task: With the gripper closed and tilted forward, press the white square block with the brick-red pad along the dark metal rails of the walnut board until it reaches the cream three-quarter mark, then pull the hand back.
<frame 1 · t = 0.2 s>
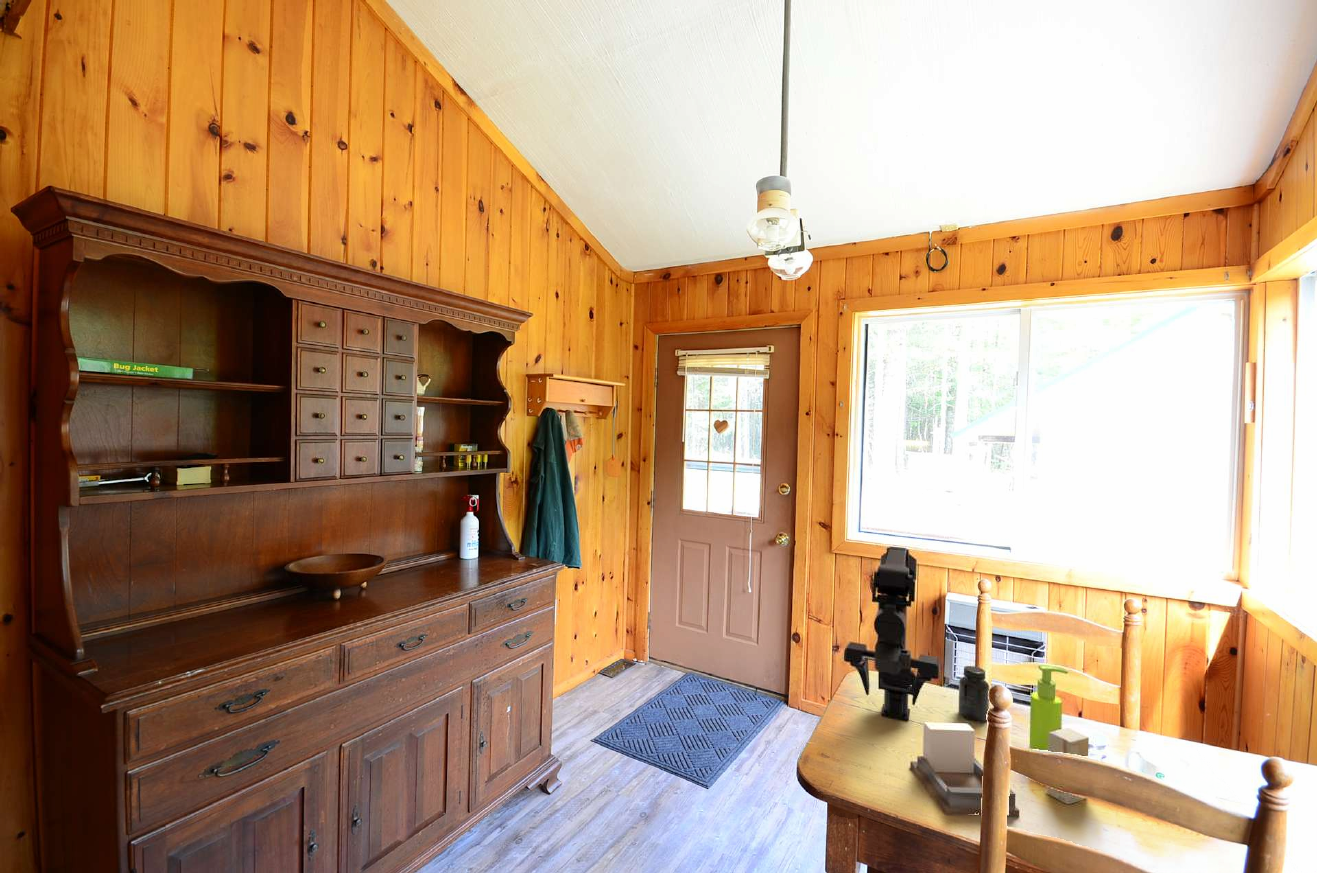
hand: (890, 699, 127), 14 cm above the table, tool pointing down, fingers open, 9 cm apart
skincare box: (1066, 797, 117), on the table
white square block: (947, 746, 124), point 6 cm above the table, slide at 0.0 cm
soap dispenser: (1047, 757, 132), on the table
supplement bottle: (973, 717, 151), on the table
press base: (961, 790, 118), on the table
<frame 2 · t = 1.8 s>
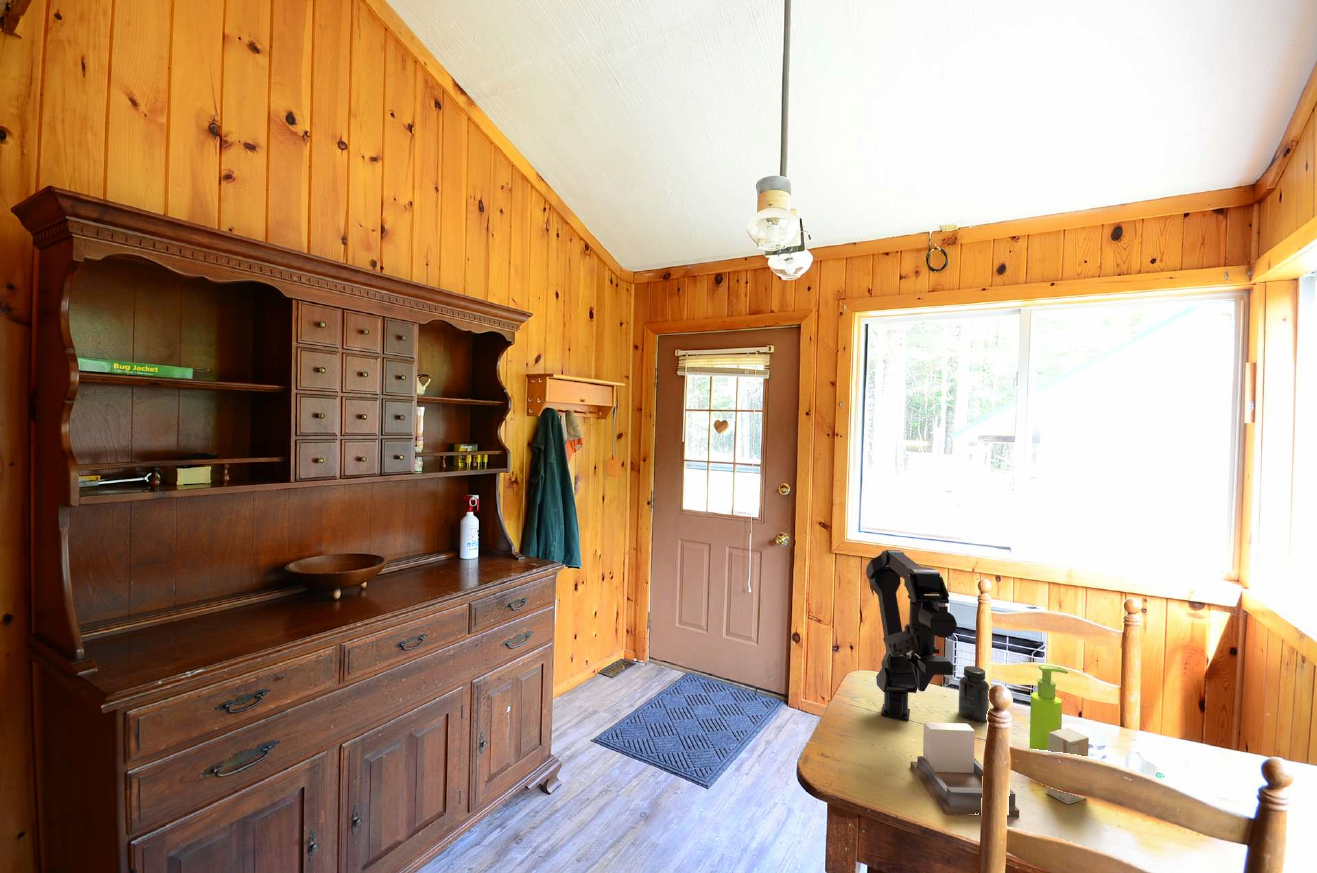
hand: (921, 690, 137), 12 cm above the table, tool pointing down, fingers closed
nothing on the table moved.
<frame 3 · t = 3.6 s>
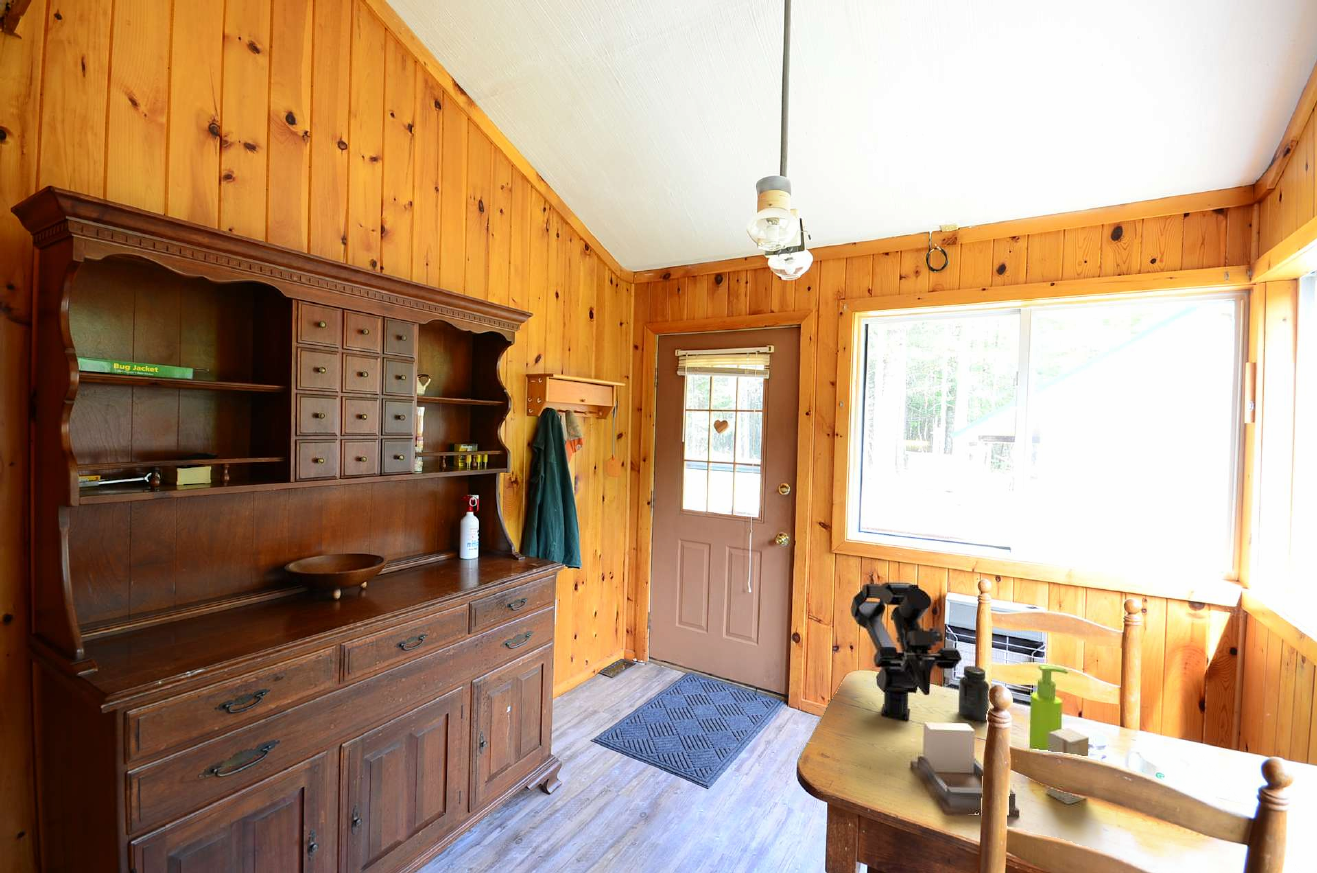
hand: (927, 694, 134), 12 cm above the table, tool tilted 45°, fingers closed
nothing on the table moved.
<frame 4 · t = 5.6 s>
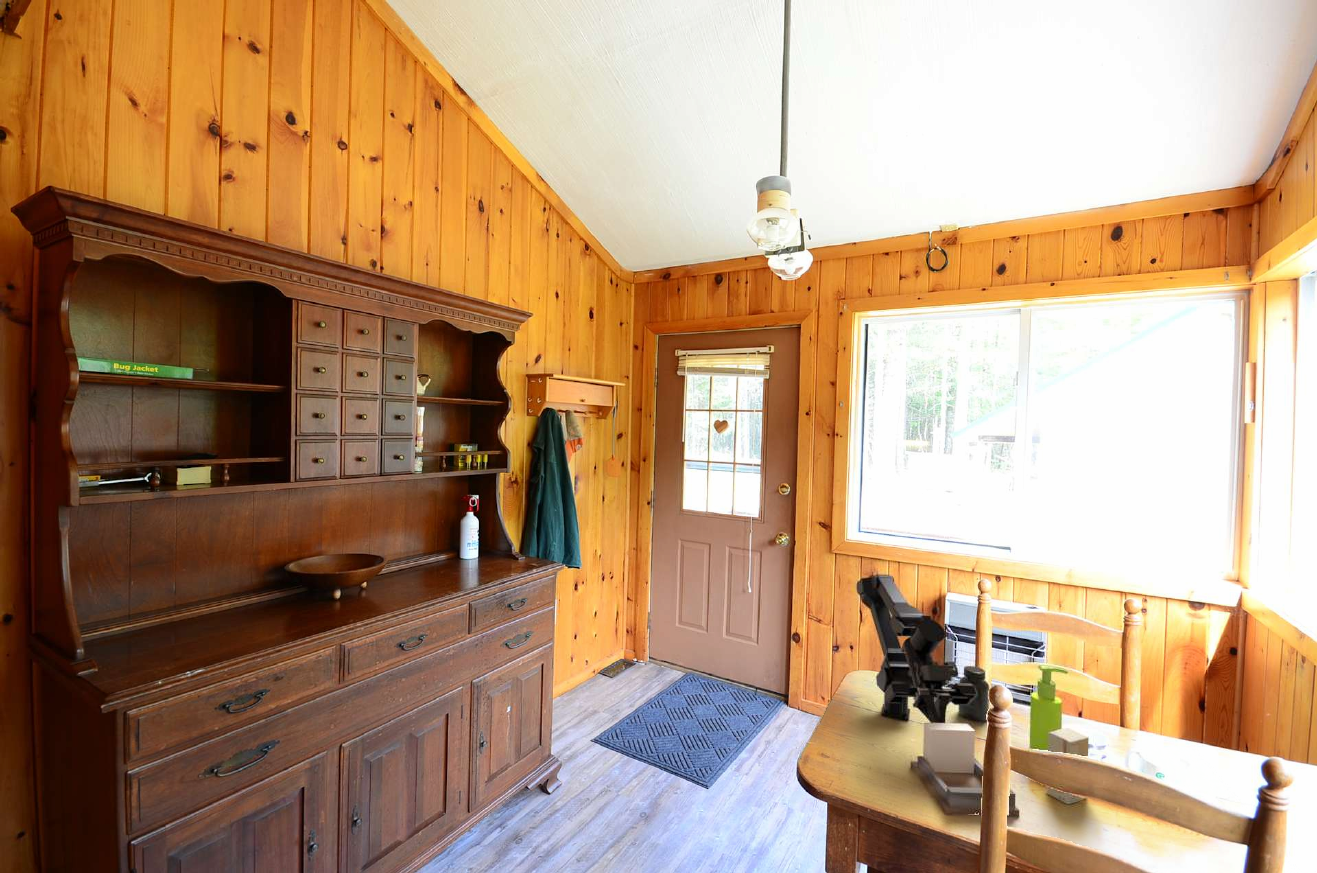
hand: (942, 733, 127), 7 cm above the table, tool tilted 45°, fingers closed, pressing on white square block
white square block: (947, 746, 124), point 6 cm above the table, slide at 0.1 cm, touching gripper
everything else where it was.
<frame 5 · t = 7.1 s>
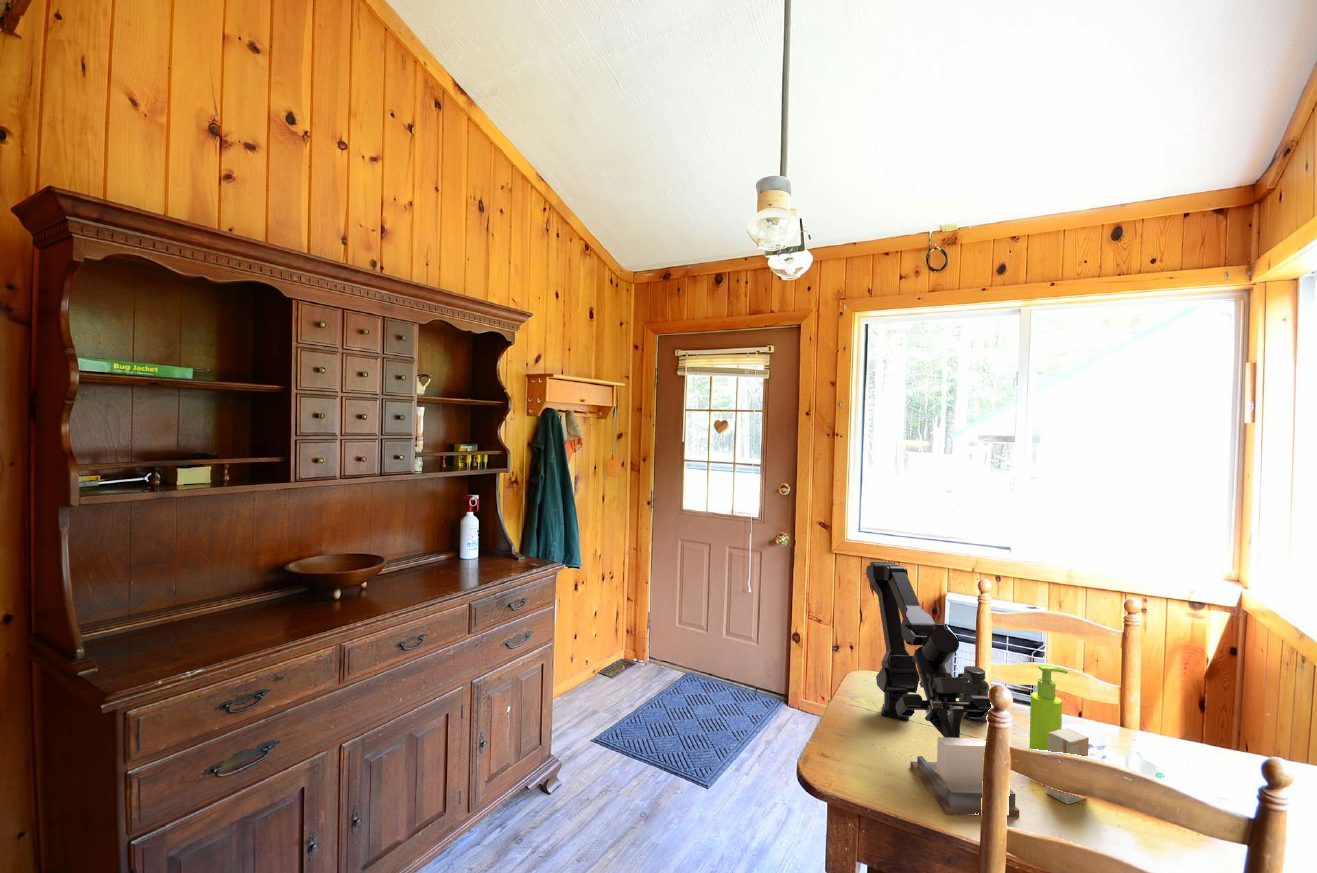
hand: (956, 749, 121), 7 cm above the table, tool tilted 45°, fingers closed, pressing on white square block
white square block: (962, 762, 118), point 6 cm above the table, slide at 6.3 cm, touching gripper
everything else where it was.
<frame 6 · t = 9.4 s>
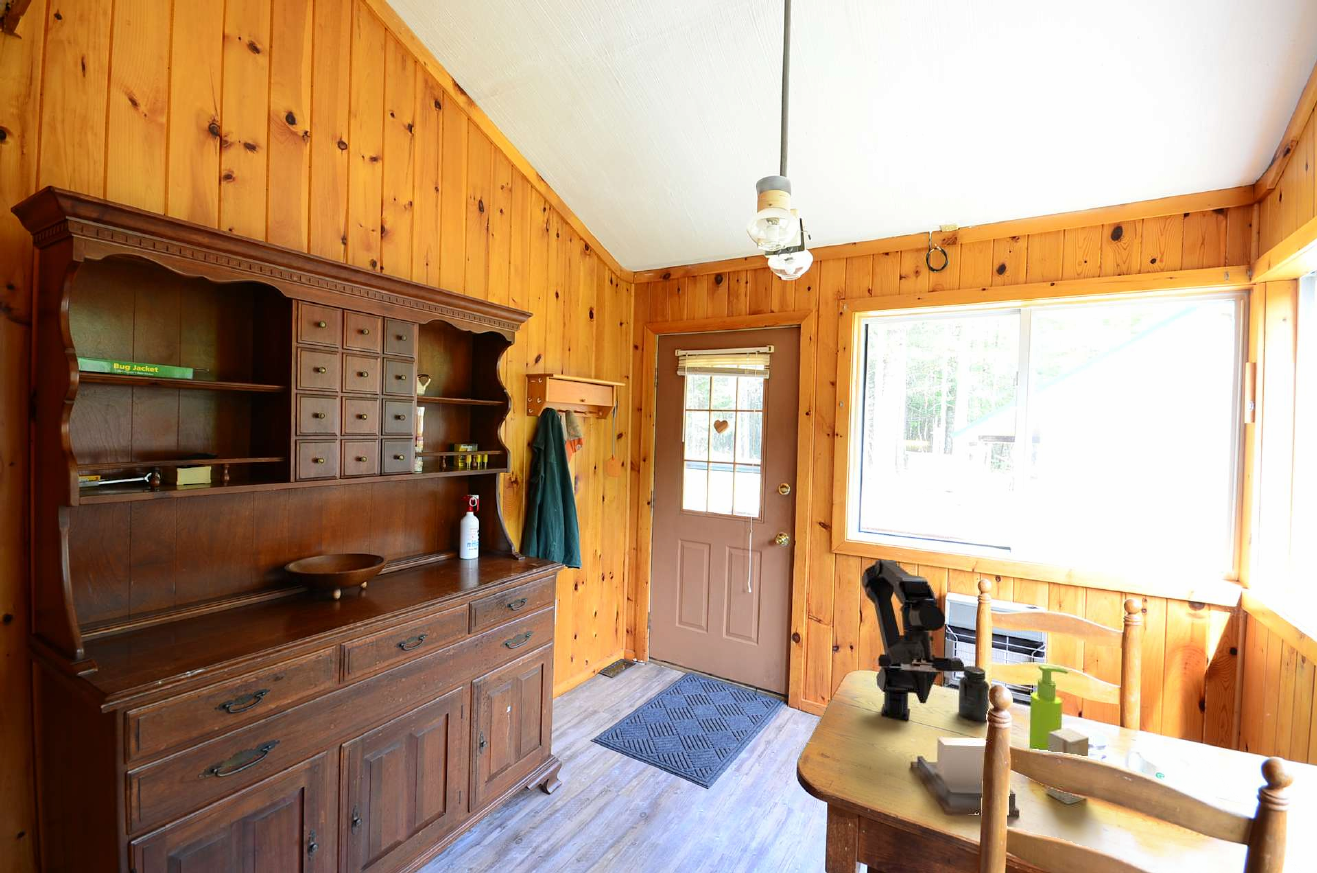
hand: (922, 703, 135), 10 cm above the table, tool tilted 20°, fingers closed
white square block: (962, 762, 118), point 6 cm above the table, slide at 6.3 cm
everything else where it was.
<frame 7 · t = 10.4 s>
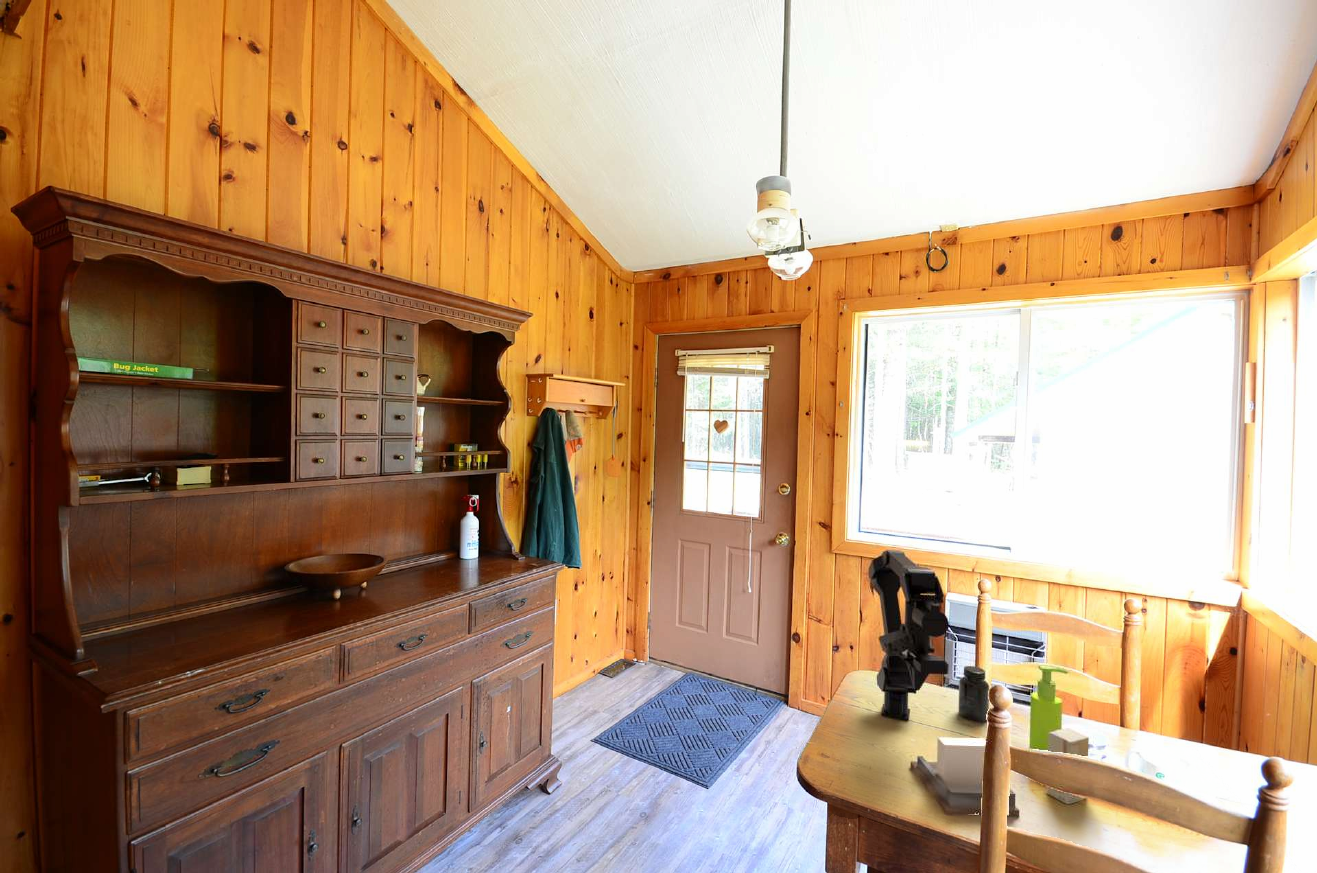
hand: (916, 689, 138), 12 cm above the table, tool pointing down, fingers closed
nothing on the table moved.
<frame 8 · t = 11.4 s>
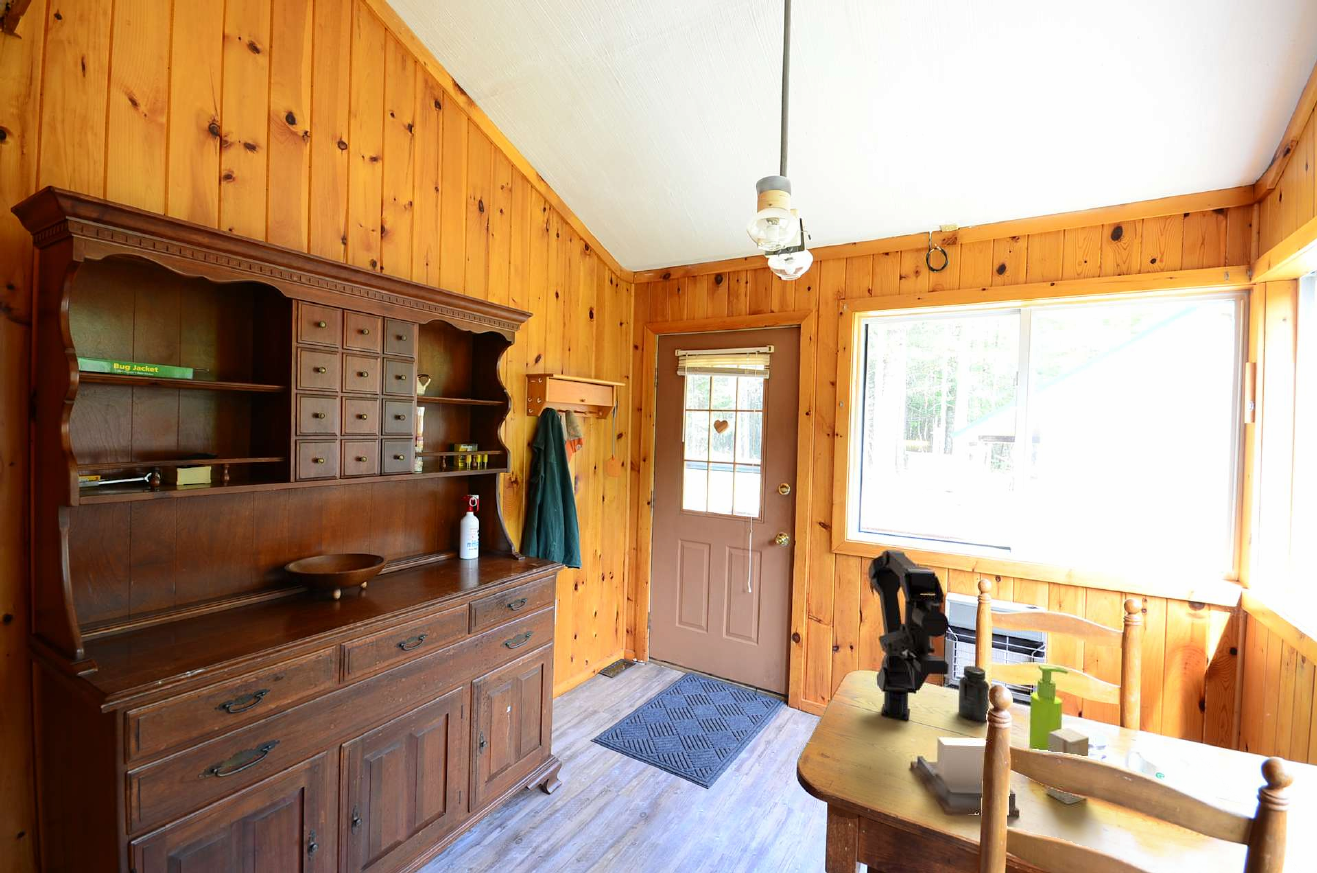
hand: (916, 689, 138), 12 cm above the table, tool pointing down, fingers closed
nothing on the table moved.
at the end: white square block slide at 6.3 cm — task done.
